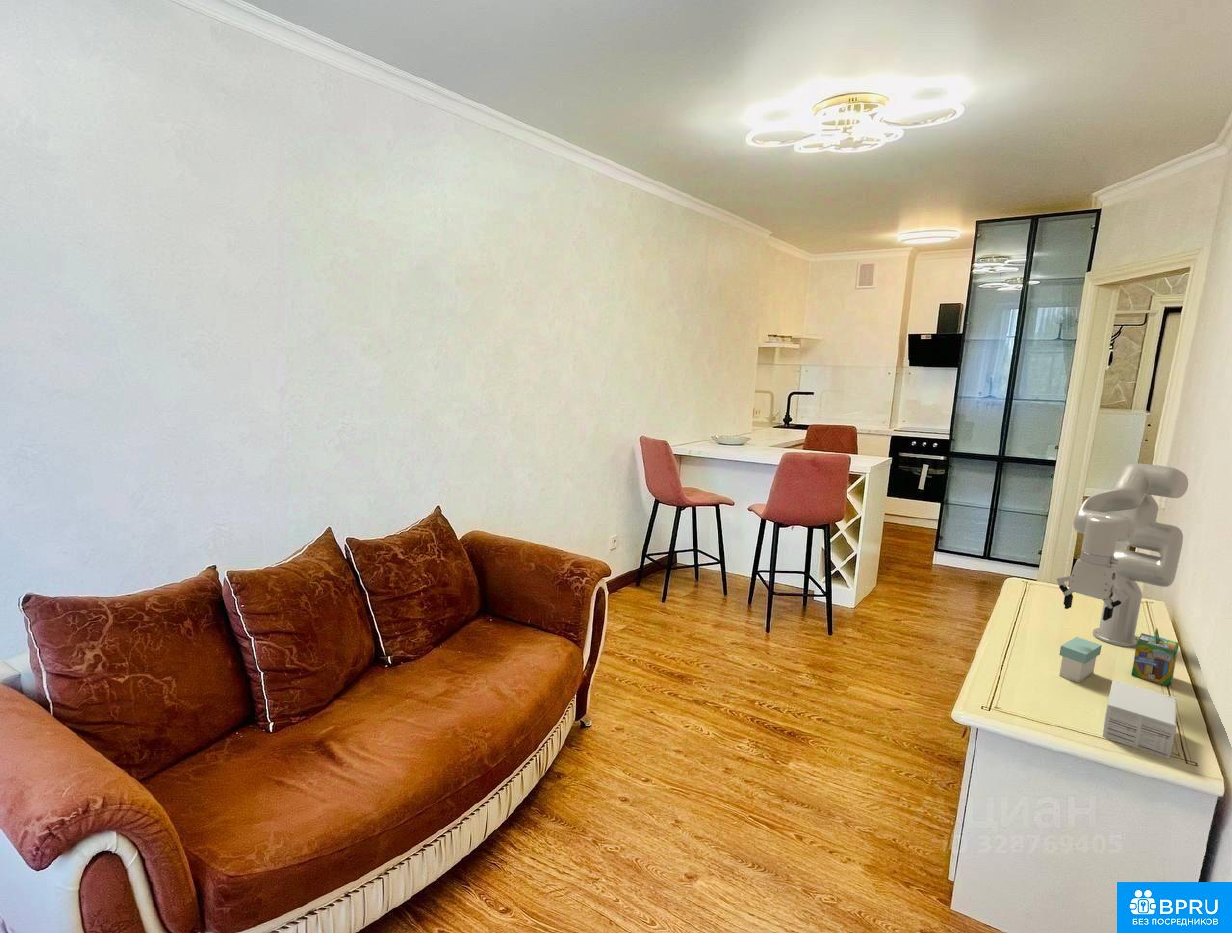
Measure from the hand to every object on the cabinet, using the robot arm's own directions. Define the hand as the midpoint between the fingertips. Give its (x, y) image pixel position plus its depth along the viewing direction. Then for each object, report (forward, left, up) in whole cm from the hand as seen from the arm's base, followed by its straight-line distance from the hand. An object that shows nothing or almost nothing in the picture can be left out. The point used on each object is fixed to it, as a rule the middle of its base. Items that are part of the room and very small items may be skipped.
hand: (1086, 613), depth 183 cm
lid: (0, 0, -13) cm, 13 cm away
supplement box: (+22, +21, -20) cm, 36 cm away
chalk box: (-19, +13, -20) cm, 31 cm away
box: (0, 0, -20) cm, 20 cm away
